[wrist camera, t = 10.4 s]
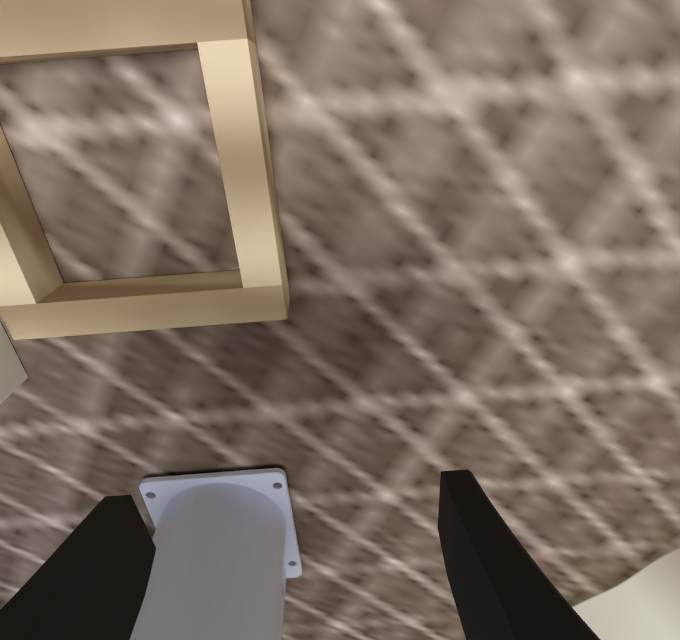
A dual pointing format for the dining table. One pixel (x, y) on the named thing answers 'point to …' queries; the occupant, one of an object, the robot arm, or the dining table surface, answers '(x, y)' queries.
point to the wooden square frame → (234, 155)
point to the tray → (9, 367)
